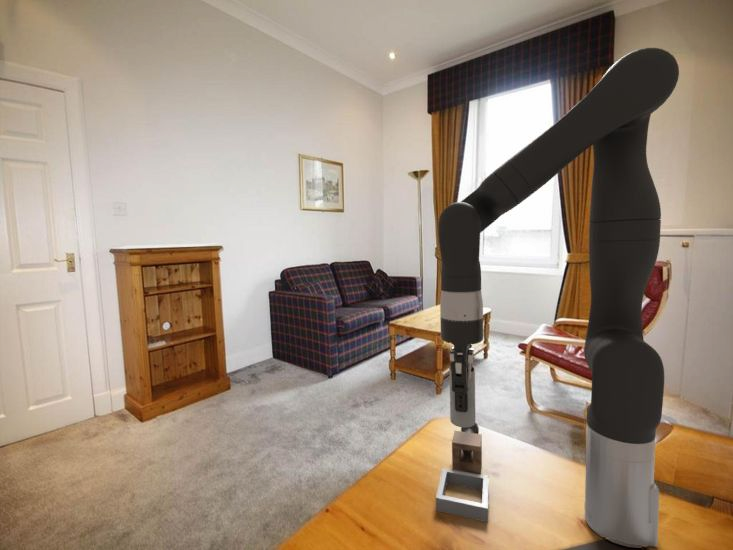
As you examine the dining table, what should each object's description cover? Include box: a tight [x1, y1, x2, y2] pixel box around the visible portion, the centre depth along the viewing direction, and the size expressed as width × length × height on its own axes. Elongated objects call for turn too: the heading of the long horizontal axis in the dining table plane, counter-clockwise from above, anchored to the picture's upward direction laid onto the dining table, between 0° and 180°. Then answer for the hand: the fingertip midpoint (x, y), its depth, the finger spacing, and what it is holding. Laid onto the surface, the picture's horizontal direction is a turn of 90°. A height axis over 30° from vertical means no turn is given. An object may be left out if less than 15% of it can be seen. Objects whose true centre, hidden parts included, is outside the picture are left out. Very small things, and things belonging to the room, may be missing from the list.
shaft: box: [460, 421, 480, 454], centre depth 81 cm, size 4×10×4 cm, turn 160°
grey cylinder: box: [448, 366, 476, 428], centre depth 65 cm, size 4×4×10 cm
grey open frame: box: [435, 467, 490, 523], centre depth 67 cm, size 9×9×2 cm
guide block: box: [451, 430, 483, 475], centre depth 76 cm, size 6×5×7 cm
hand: (462, 404), depth 66 cm, fingers closed on grey cylinder, 4 cm apart
